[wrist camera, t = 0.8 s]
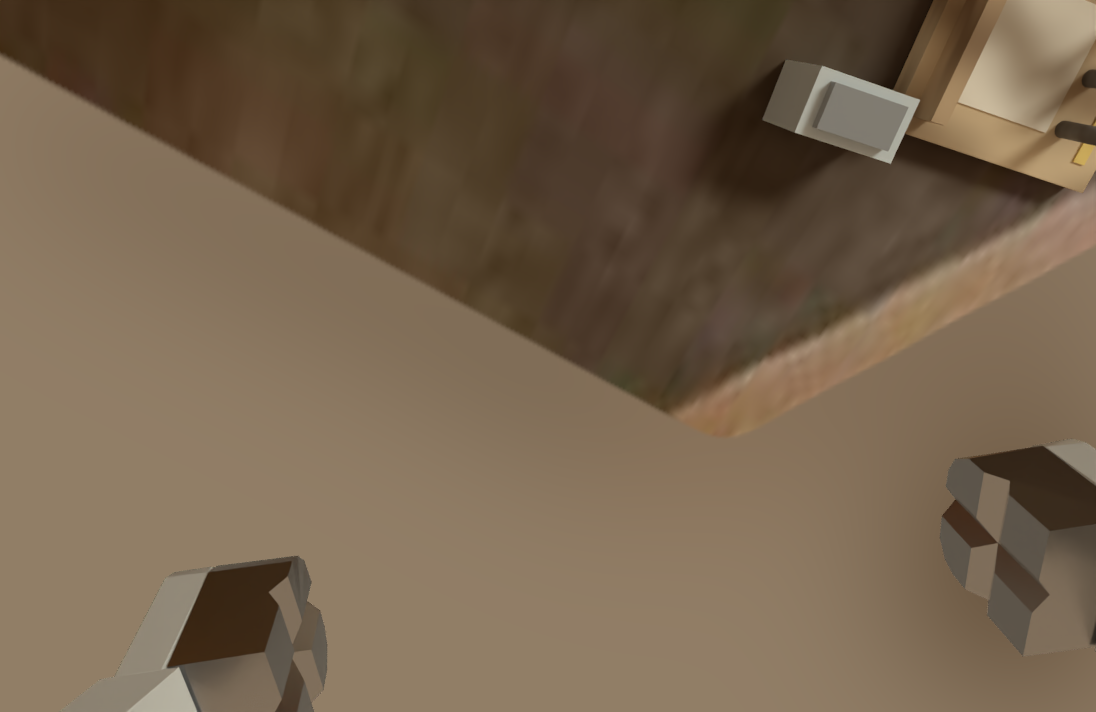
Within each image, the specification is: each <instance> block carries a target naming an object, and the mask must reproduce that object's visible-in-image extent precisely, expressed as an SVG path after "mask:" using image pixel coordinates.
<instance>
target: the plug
mask: <svg viewBox="0 0 1096 712" xmlns="http://www.w3.org/2000/svg"><path fill="white" fill-rule="evenodd" d="M919 102H920V100H919V99H916V98H913V97H910V96H908V95H905V94H902V93H899V92H896V91H893V90H890V89H887V88H884V87H882V86H879V85H876V84H873V83H870V82H867V81H864V80H861V79H859V78H856V77H853V76H850V75H847V74H844V73H841V72H838V71H836V70H833V69H830V68H827V67H824V66H820V65H814V64H809V63H803V62H797V61H791V60H785V63H784V66H783V68H782V71H781V73H780V76H779V78H778V81H777V83H776V86H775V88H774V91H773V93H772V96H771V99H770V101H769V104H768V106H767V109H766V111H765V114H764V116H763V119H762V120H763V121H766V122H769V123H771V124H774V125H776V126H779V127H782V128H784V129H787V130H789V131H792V132H795V133H798V134H801V135H804V136H807V137H810V138H813V139H816V140H819V141H822V142H825V143H828V144H832V145H835V146H838V147H841V148H844V149H847V150H850V151H853V152H856V153H859V154H862V155H866V156H869V157H872V158H875V159H878V160H881V161H884V162H887V163H890V164H891V162H892V160H893V158H894V156H895V153H896V151H897V149H898V147H899V145H900V143H901V140H902V138H903V136H904V134H905V132H906V130H907V128H908V125H909V123H910V121H911V119H912V117H913V115H914V113H915V110H916V108H917V106H918V104H919Z"/></svg>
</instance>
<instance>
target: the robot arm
mask: <svg viewBox="0 0 1096 712" xmlns="http://www.w3.org/2000/svg"><path fill="white" fill-rule="evenodd" d="M946 487H947V489H948V490H949V491H950V493H951V494H952V496H953V497H954V498H955V499H956V500H955V501H954V502H953V503H952V504H951V506H950V507H949V508H948V509H947V510H946V512H945V513H944V514H943V515H942V519H941V530H940V541H941V545H942V549H943V554H944V558H945V560H946V562H947V564H948V566H949V568H950V570H951V572H952V574H953V575H954V576H955V578H956V579H957V580H958V581H959V583H960V584H961V585H962V586H963V587H964V588H965V589H966V590H968V591H970V592H972V593H974V594H976V595H979V596H980V597H983V598H985V599H987V600H988V613H987V615H988V617H989V618H990V619H991V620H992V621H993V622H994V624H995V625H996V626H997V627H998V628H999V629H1000V631H1001V632H1002V633H1003V634H1004V635H1005V636H1006V637H1007V639H1008V640H1009V641H1010V642H1011V643H1012V644H1013V646H1014V647H1015V648H1016V649H1017V650H1018V651H1019V652H1020V654H1021V655H1022V656H1031V655H1038V654H1045V653H1052V652H1060V651H1068V650H1075V649H1083V648H1091V647H1095V649H1094V651H1096V449H1094V448H1093V447H1092V446H1090V445H1089V444H1088V443H1086V442H1082V441H1079V440H1074V439H1067V440H1063V441H1056V442H1051V443H1046V444H1039V445H1034V446H1032V447H1030V448H1024V449H1017V450H1010V451H1004V452H998V453H991V454H984V455H978V456H971V457H965V458H958V459H955V460H954V461H953V463H952V465H951V467H950V468H949V471H948V476H947V483H946ZM310 586H311V579H310V576H309V573H308V570H307V567H306V564H305V561H304V560H303V559H301V558H300V557H299V556H291V557H284V558H276V559H268V560H260V561H252V562H245V563H236V564H228V565H220V566H216V567H207V568H200V569H193V570H186V571H179V572H174V573H172V574H171V575H169V576H168V577H166V578H165V579H164V581H163V583H162V585H161V587H160V589H159V590H158V592H157V595H156V596H155V598H154V600H153V602H152V604H151V606H150V608H149V610H148V612H147V614H146V616H145V618H144V620H143V622H142V624H141V625H140V627H139V629H138V631H137V633H136V635H135V637H134V639H133V641H132V643H131V645H130V647H129V649H128V651H127V653H126V655H125V656H124V658H123V661H122V663H121V664H120V666H119V668H118V670H117V672H116V674H115V676H114V677H111V678H105V679H100V680H99V681H97V682H96V683H95V684H94V685H92V686H91V687H90V688H88V689H87V690H86V691H85V692H83V693H82V694H81V695H80V696H78V697H77V698H76V699H75V700H73V701H72V702H71V703H69V704H68V705H67V706H66V707H64V708H63V709H62V710H61V711H59V712H314V710H313V707H312V702H313V701H314V700H315V699H316V697H317V696H318V695H319V694H320V693H321V692H322V691H323V690H324V684H325V679H326V673H327V640H326V633H325V626H324V623H323V619H322V615H321V612H320V610H319V609H317V608H316V607H314V606H313V605H312V604H311V603H309V602H307V598H308V595H309V591H310Z"/></svg>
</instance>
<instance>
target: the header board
mask: <svg viewBox="0 0 1096 712" xmlns="http://www.w3.org/2000/svg"><path fill="white" fill-rule="evenodd" d="M893 91H896V92H899V93H902V94H905V95H908V96H910V97H913V98H916V99H919V100H920V102H919V104H918V106H917V108H916V110H915V113H914V115H913V117H912V119H911V121H910V123H909V125H908V128H907V130H906V132H905V134H906V135H909V136H912V137H915V138H918V139H921V140H924V141H927V142H930V143H933V144H936V145H939V146H942V147H945V148H948V149H951V150H954V151H957V152H960V153H963V154H966V155H969V156H972V157H975V158H978V159H981V160H984V161H987V162H990V163H993V164H996V165H999V166H1002V167H1005V168H1008V169H1011V170H1014V171H1017V172H1020V173H1023V174H1026V175H1029V176H1032V177H1035V178H1038V179H1041V180H1044V181H1047V182H1050V183H1053V184H1056V185H1059V186H1062V187H1065V188H1068V189H1071V190H1074V191H1078V192H1081V193H1083V191H1084V189H1085V188H1086V186H1087V184H1088V182H1089V181H1090V179H1091V177H1092V175H1093V174H1094V172H1095V170H1096V0H933V2H932V5H931V7H930V9H929V11H928V13H927V16H926V18H925V20H924V22H923V25H922V27H921V29H920V31H919V33H918V36H917V38H916V40H915V42H914V45H913V47H912V49H911V51H910V53H909V56H908V58H907V60H906V62H905V65H904V67H903V69H902V71H901V73H900V76H899V78H898V80H897V82H896V85H895V87H894V89H893Z"/></svg>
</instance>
